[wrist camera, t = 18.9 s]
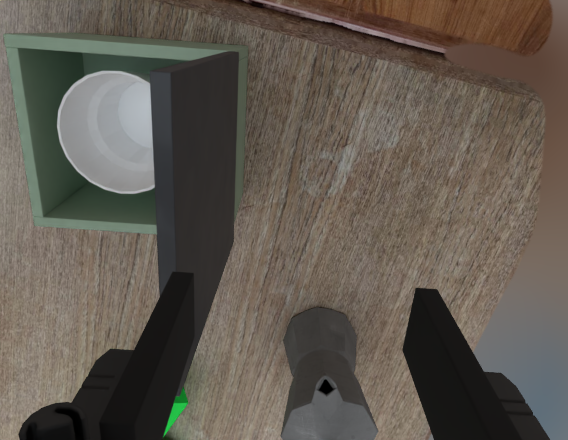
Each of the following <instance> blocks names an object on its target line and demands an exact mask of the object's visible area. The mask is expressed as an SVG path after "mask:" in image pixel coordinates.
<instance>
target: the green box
mask: <svg viewBox="0 0 568 440" xmlns="http://www.w3.org/2000/svg"><path fill="white" fill-rule="evenodd" d="M3 36H4V42H5V47H6V53H7V59H8V65H9V71H10V77H11V83H12V90H13V96H14V102H15V108H16V114H17V121H18V127H19V133H20V139H21V145H22V151H23V158H24V164H25V170H26V176H27V182H28V189H29V195H30V201H31V207H32V213H33V220H34V226H43V227H57V228H72V229H87V230H101V231H116V232H130V233H145V234H157V226H156V204H155V187H154V188H153V189H151V190H148V191H144V192H140V193H136V194H120V193H116V192H112V191H108V190H104V189H103V188H101V187H99V186H97V185H95V184H93V183H91V182H89V181H88V180H87V179H86V178H85V177H83V176H82V175H81V174H80V173H79V172H77V170H76V169H75V168H74V167H73V165H72V164H71V163H70V161H69V160H68V159H67V157H66V155H65V153H64V151H63V148H62V146H61V144H60V141H59V135H58V130H57V119H58V110H59V107H60V104H61V102H62V99H63V97H64V95H65V94H66V93H67V91H68V90H69V89H70V88H71V86H72V85H73V84H74V83H76V82H77V81H79V80H80V79H82V78H83V77H85V76H86V75H89V74H93V73H96V72H100V71H126V72H138V73H145V74H150V71H151V70H155V69H159V68H163V67H167V66H171V65H175V64H179V63H183V62H187V61H191V60H195V59H199V58H203V57H207V56H211V55H215V54H219V53H223V52H227V51H235V52H239V73H238V108H237V142H236V177H235V211H234V222H235V219H236V215H237V212H238V208H239V205H240V202H241V198H242V195H243V178H244V151H245V123H246V96H247V68H248V46H243V45H230V44H217V43H204V42H190V41H177V40H164V39H151V38H138V37H124V36H111V35H98V34H85V33H19V34H3Z"/></svg>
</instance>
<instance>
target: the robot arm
mask: <svg viewBox="0 0 568 440" xmlns="http://www.w3.org/2000/svg"><path fill="white" fill-rule="evenodd" d="M194 337H195V320H194V273H188V272H173V271H172V273H171V276H170V278H169V280H168V282H167V284H166V286H165V288H164V290H163V292H162V294H161V296H160V298H159V300H158V302H157V304H156V306H155V308H154V310H153V312H152V314H151V317H150V319H149V321H148V323H147V325H146V327H145V329H144V331H143V333H142V335H141V337H140V339H139V341H138V343H137V345H136V347H135V349H134V350H121V349H110V350H109V351H107V352H106V353H105V354H104V355H102V356H101V357H100V358H99V359H97V360H96V362H95V364H94V365H93V367H92V369H91V371H90V372H89V374H88V377H86V379H85V381H84V382H83V384H82V388H80V389H79V391H78V393H77V394H76V396H75V398H74V400H73V401H72V403H69V402H63V403H55V404H52V405H49V406H46V407H43V408H41V409H40V410H38V411H36V412H35V413H33V414H32V415H31V416H30V417H29V418H28V419H27V420H26V421H25V422H24V423H23V424H22V427H21V429H20V432H19V438H20V440H162V439H163V436H164V433H165V430H166V427H167V423H168V420H169V417H170V414H171V411H172V407H173V404H174V401H175V398H176V394H177V391H178V388H179V385H180V382H181V378H182V375H183V372H184V369H185V366H186V362H187V359H188V356H189V353H190V350H191V346H192V343H193V340H194ZM403 353H404V356H405V358H406V361H407V364H408V367H409V370H410V373H411V375H412V378H413V381H414V384H415V387H416V390H417V393H418V395H419V398H420V401H421V404H422V407H423V410H424V412H425V415H426V418H427V421H428V424H429V427H430V430H431V432H432V435H433V438H434V440H550V439H549V437H548V436H547V434H546V433H545V431H544V430H543V428H542V426H541V425H540V423H539V421H538V420H537V418H536V417H535V416H533V412H532V410H531V409H530V408H529V406H528V404H526V403H525V399H524V398H523V396H522V395H521V393H520V392H519V390H518V388H517V387H516V386H515V385H514V384H513V383H512V382H511V381H510V380H509V379H507V378H506V377H505V376H504V375H503V374H502V373H494V372H484V371H483V370H482V368H481V366H480V364H479V362H478V361H477V359H476V357H475V355H474V354H473V352H472V350H471V348H470V347H469V345H468V343H467V341H466V340H465V338H464V336H463V334H462V332H461V331H460V329H459V327H458V325H457V324H456V322H455V320H454V318H453V317H452V315H451V313H450V311H449V310H448V308H447V306H446V304H445V302H444V301H443V299H442V297H441V295H440V294H439V292H438V290H437V289H425V288H416V289H415V294H414V299H413V303H412V308H411V313H410V317H409V322H408V327H407V331H406V336H405V340H404V345H403Z"/></svg>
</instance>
